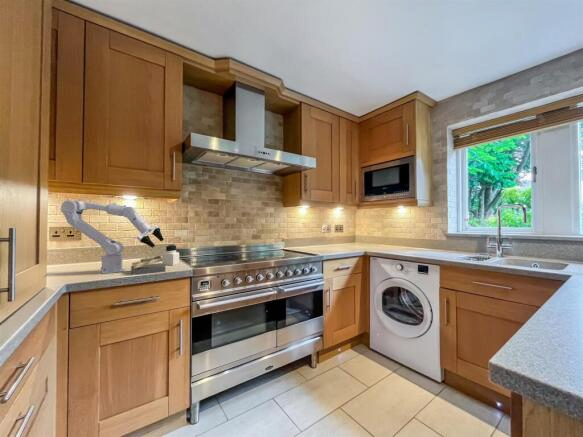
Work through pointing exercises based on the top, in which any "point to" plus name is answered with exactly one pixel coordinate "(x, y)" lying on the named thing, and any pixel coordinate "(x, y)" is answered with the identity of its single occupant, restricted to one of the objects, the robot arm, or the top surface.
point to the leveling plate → (147, 261)
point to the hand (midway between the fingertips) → (158, 243)
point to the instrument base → (148, 269)
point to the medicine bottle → (170, 256)
